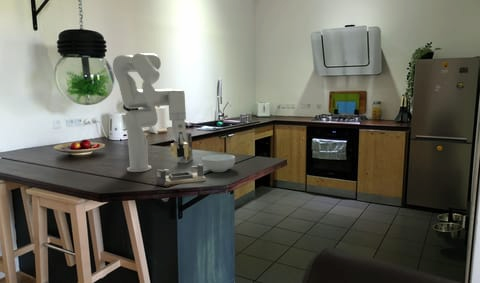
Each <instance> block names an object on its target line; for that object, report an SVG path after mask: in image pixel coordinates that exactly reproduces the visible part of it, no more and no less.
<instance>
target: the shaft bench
mask: <svg viewBox="0 0 480 283" xmlns="http://www.w3.org/2000/svg"><path fill="white" fill-rule="evenodd" d="M190 169H191V170H190V171H191V172H190V171H182V172H174V173H173V172H172V173H170V171H171V170H170V168H169V169H168V168H164V169H161V168H160V169H159V168H158V169H155V178H156V184H157V185H161V184H162V185H161V186H169V185H170V184H172V185H178V184H188V183H194V182H202V181H203V182H204V181H206V180H207V178H206V176H204V165H203V163H197V164H196V165H191V167H190ZM163 184H164V185H163Z"/></svg>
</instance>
